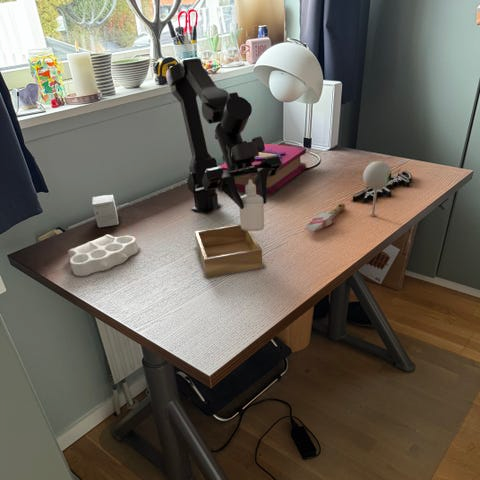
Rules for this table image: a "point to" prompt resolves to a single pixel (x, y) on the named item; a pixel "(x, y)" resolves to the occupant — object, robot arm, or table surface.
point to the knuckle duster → (101, 254)
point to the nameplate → (394, 182)
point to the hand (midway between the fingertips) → (253, 205)
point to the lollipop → (377, 178)
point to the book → (285, 173)
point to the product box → (105, 210)
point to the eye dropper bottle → (252, 209)
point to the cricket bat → (323, 218)
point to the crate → (228, 250)
